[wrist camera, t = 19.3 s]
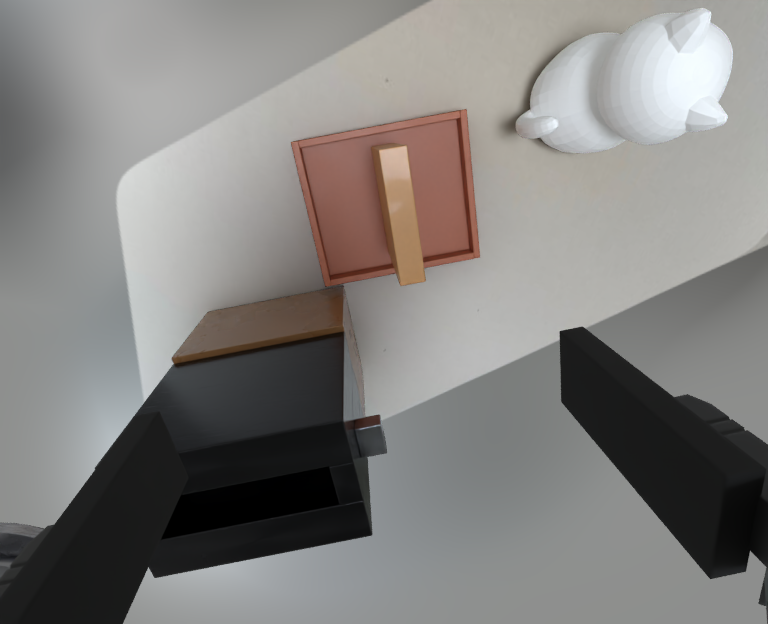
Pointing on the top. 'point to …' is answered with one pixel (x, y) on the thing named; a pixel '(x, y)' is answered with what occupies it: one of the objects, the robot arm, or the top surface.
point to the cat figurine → (632, 85)
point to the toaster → (267, 433)
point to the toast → (399, 211)
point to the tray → (362, 203)
